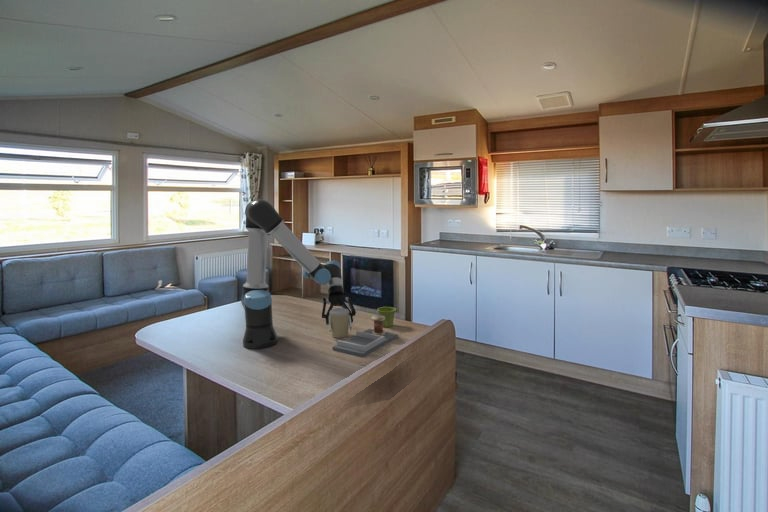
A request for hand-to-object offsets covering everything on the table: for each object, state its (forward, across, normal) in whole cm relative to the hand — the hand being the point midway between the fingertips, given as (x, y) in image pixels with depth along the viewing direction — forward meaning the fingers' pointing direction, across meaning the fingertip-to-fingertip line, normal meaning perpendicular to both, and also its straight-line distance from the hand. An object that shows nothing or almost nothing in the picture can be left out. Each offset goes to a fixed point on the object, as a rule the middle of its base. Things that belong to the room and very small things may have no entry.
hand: (340, 329), depth 192 cm
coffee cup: (+1, 0, -5) cm, 5 cm away
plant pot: (-5, -25, -11) cm, 28 cm away
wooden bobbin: (+4, -17, +1) cm, 18 cm away
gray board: (+10, -10, +5) cm, 15 cm away
